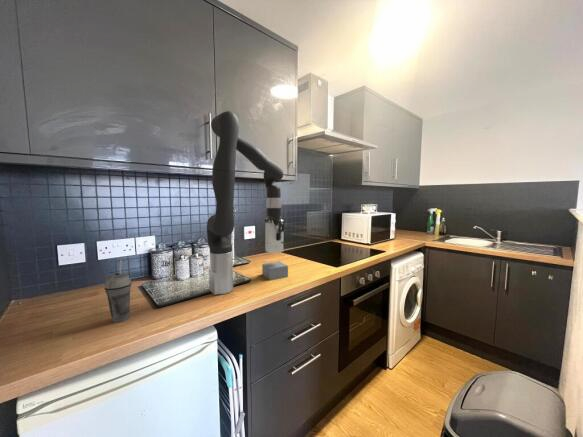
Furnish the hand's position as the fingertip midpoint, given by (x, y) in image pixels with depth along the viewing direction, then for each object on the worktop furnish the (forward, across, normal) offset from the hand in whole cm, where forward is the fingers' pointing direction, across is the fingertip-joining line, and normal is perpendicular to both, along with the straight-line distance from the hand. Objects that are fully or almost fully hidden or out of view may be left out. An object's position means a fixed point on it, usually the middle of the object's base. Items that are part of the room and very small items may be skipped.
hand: (274, 239), depth 119 cm
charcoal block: (+19, 0, 0) cm, 19 cm away
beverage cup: (+19, +2, -65) cm, 68 cm away
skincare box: (+6, 0, 0) cm, 6 cm away
